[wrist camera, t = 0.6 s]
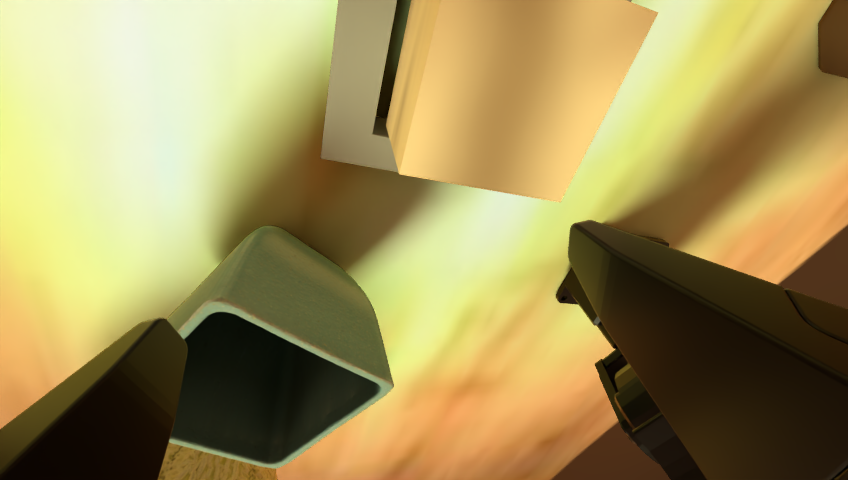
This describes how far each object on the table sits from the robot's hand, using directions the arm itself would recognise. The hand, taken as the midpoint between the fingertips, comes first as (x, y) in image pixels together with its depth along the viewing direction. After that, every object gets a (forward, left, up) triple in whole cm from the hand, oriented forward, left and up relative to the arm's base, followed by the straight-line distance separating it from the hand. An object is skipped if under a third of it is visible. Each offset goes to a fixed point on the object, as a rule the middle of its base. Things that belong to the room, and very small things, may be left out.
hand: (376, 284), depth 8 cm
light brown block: (-4, -4, -9) cm, 11 cm away
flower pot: (+3, +10, -13) cm, 17 cm away
